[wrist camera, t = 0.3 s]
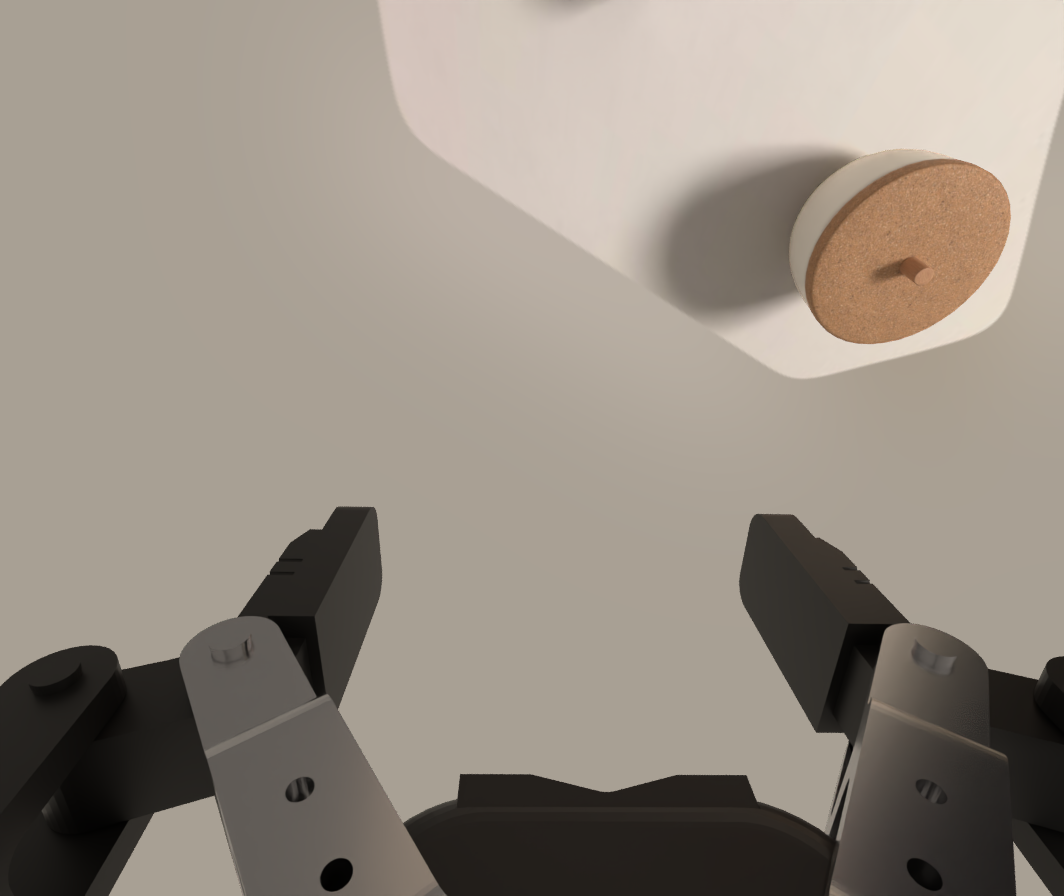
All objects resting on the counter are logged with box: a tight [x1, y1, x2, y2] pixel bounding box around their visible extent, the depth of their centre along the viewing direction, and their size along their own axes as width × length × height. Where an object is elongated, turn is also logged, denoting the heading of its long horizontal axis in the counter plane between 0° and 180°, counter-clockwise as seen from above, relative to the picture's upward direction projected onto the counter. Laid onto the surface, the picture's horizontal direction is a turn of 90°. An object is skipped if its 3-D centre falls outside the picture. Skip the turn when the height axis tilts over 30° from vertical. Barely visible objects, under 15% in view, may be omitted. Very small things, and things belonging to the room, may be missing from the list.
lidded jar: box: [789, 149, 1011, 344], centre depth 35 cm, size 11×11×9 cm
